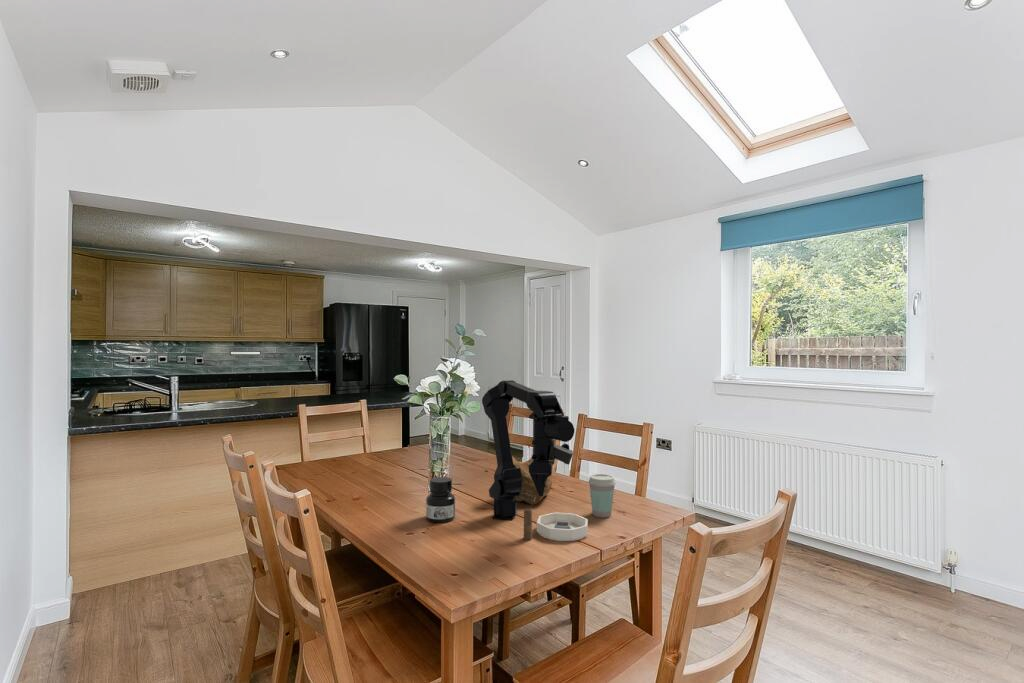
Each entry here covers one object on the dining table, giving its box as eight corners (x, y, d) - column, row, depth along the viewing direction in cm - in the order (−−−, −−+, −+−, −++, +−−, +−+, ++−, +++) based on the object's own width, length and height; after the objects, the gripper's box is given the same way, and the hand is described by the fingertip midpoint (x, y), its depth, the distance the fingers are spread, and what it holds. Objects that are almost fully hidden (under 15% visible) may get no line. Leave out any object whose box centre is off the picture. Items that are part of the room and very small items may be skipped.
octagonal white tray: (534, 539, 141) (534, 527, 141) (541, 522, 155) (541, 511, 155) (586, 543, 138) (586, 531, 138) (588, 525, 152) (588, 514, 152)
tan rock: (521, 515, 164) (525, 469, 163) (487, 499, 176) (491, 456, 175) (567, 502, 180) (571, 460, 179) (534, 489, 192) (537, 449, 191)
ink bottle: (422, 523, 153) (422, 483, 153) (427, 513, 162) (427, 475, 162) (454, 523, 153) (454, 483, 153) (457, 514, 162) (458, 476, 162)
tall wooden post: (523, 539, 141) (523, 510, 141) (524, 537, 143) (525, 508, 143) (530, 540, 140) (531, 511, 140) (531, 537, 142) (532, 508, 142)
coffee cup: (619, 513, 164) (619, 475, 164) (609, 520, 156) (610, 481, 157) (594, 508, 168) (594, 472, 168) (584, 516, 161) (584, 477, 161)
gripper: (570, 443, 134) (570, 502, 134) (572, 431, 152) (571, 483, 152) (528, 441, 135) (528, 500, 135) (535, 430, 154) (534, 482, 154)
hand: (542, 491), depth 144 cm, fingers open, 9 cm apart
